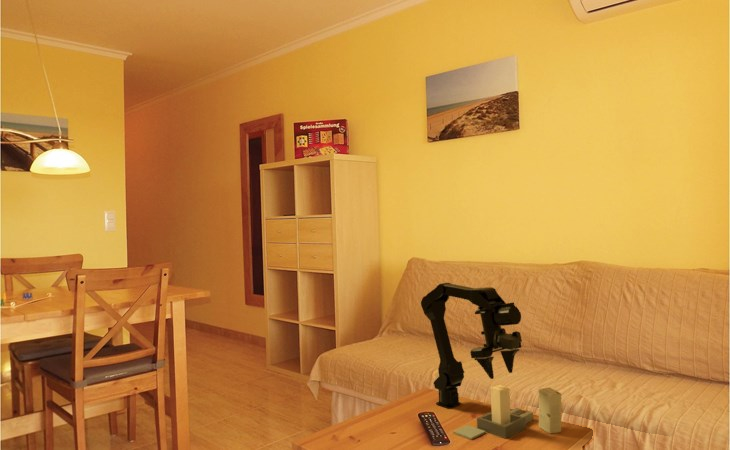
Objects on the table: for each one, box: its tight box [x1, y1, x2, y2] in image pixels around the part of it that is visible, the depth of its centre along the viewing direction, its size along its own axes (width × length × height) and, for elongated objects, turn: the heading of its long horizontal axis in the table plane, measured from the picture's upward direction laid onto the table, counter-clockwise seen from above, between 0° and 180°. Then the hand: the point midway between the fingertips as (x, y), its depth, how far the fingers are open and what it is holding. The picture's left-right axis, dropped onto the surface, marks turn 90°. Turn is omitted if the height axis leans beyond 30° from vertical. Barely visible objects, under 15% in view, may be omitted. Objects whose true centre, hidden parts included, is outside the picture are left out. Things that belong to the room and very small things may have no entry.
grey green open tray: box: [476, 407, 534, 440], centre depth 173 cm, size 10×18×4 cm, turn 130°
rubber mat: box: [452, 424, 487, 440], centre depth 168 cm, size 7×7×1 cm
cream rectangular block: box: [490, 384, 511, 425], centre depth 170 cm, size 4×4×13 cm
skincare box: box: [538, 387, 562, 434], centre depth 168 cm, size 6×4×12 cm
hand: (501, 375), depth 174 cm, fingers open, 9 cm apart
